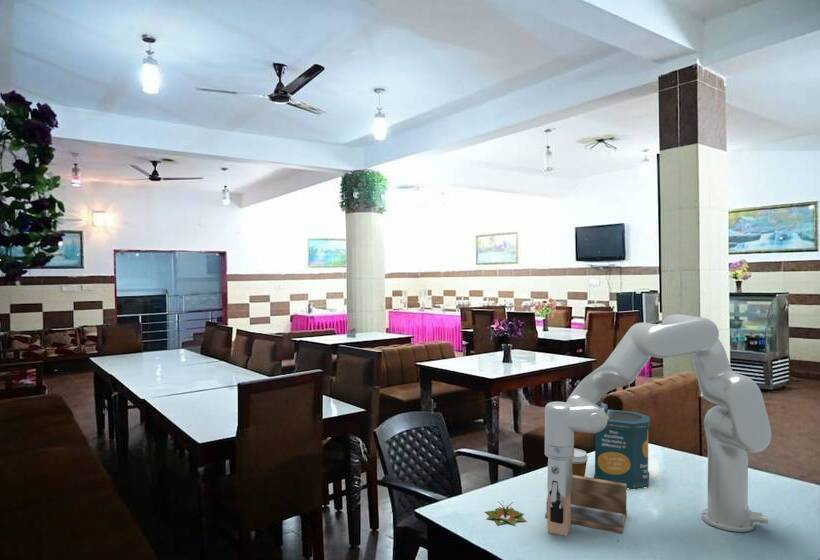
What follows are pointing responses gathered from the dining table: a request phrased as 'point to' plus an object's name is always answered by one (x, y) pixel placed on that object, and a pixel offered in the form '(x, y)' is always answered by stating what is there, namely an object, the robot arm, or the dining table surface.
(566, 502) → the terracotta block
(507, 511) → the lily flower
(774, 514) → the dining table surface
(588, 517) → the cleat board
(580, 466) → the disposable coffee cup
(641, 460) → the donation box
